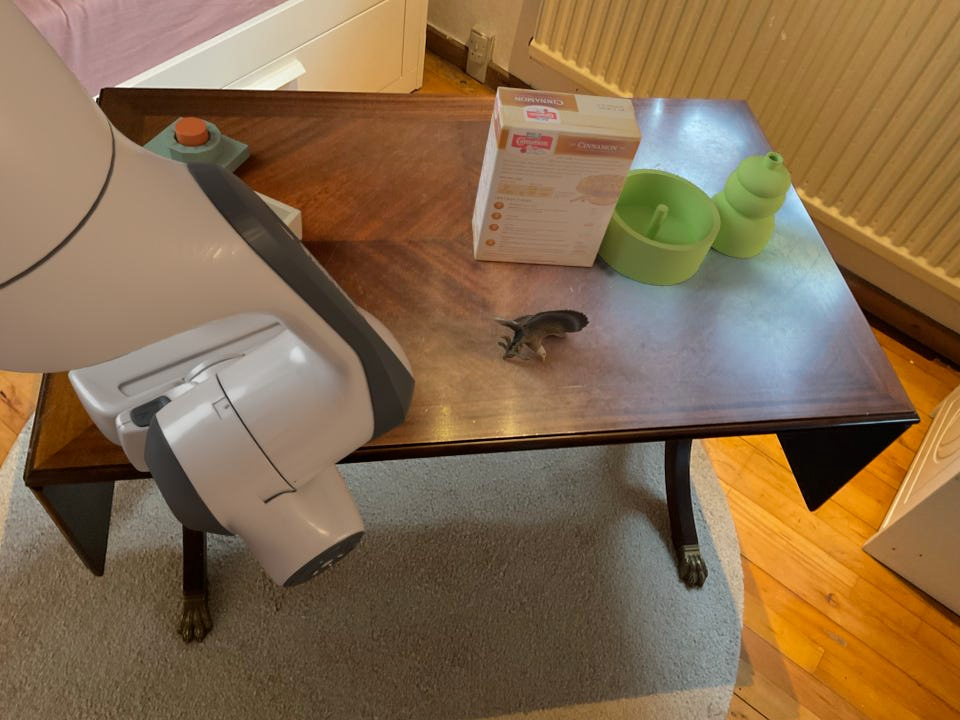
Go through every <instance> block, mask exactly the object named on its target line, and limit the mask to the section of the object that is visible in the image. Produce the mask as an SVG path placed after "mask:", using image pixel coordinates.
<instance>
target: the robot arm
mask: <svg viewBox="0 0 960 720" xmlns="http://www.w3.org/2000/svg"><path fill="white" fill-rule="evenodd" d="M254 191H255V190H254V189H252V187H251V186H249V185H248V184H247V183H246V182H245V181H243V180H242V179H241V178H239V176H237V175H236V174H234V172H233V173H231V172H230V171H228V170H227V169H225V168H224V167H222V166H220V165H219V164H217V163H215V162H187V164H186V163H182V162H178V161H175V160H172V159H169V158H166V157H163V156H161V155H158V154H156V153H153V152H151V151H149V150H147V149H145V148H143V146H142V145H139V144H137V143H136V142H135V141H133V140H131V139H130V138H128V137H127V136H125V134H123V133H122V132H121V131H120V130H119V129H118V128H117V127H115V125H114V124H113V123H112V122H111V120H110V119H109V118H108V116H107V115H106V114H105V112H104V111H103V110H102V108H101V107H100V106H99V104H98V103H97V102H96V100H95V99H94V98H93V96H92V95H91V94H90V92H89V91H88V90H87V88H86V87H85V85H84V84H83V83H82V81H81V80H80V79H79V78H78V76H77V75H76V73H75V72H74V71H73V70H72V68H71V67H70V66H69V65H68V64H67V62H66V61H65V60H64V59H63V57H62V56H61V55H60V54H59V53H58V51H57V50H56V49H55V47H54V46H53V45H52V44H51V43H50V42H49V41H48V39H47V38H46V37H45V36H44V34H43V33H42V32H41V31H40V30H39V29H38V27H37V26H36V25H35V24H34V23H33V22H32V21H31V20H30V18H29V17H28V16H26V14H25V13H24V12H23V11H22V10H21V9H20V7H19V6H18V5H17V4H16V2H14V1H13V0H0V371H4V372H11V373H19V374H53V373H54V374H55V373H62V372H68V374H67V377H68V380H69V382H70V384H71V386H72V388H73V390H74V392H75V394H76V396H77V397H78V400H79V402H80V403H81V405H82V407H83V408H84V410H85V411H86V413H87V415H88V416H89V418H90V419H91V421H92V422H93V423H94V425H95V426H96V427H97V428H98V430H99V432H101V433H102V435H103V436H104V437H105V438H106V439H107V440H108V441H110V442H111V443H113V444H114V445H116V446H119V447H121V448H122V450H123V452H124V454H125V455H126V458H127V459H128V460H129V462H130V464H132V467H134V469H136V470H137V471H139V472H140V473H141V472H142V473H143V472H144V473H147V472H150V474H151V477H152V478H153V481H154V483H155V484H156V486H157V488H158V490H159V492H160V494H161V496H162V498H163V500H164V502H165V503H166V505H167V506H168V508H169V511H170V512H171V513H172V515H173V516H174V518H175V519H176V520H177V521H178V522H179V523H180V524H181V525H183V526H184V527H185V528H186V529H189V530H191V531H198V532H201V533H202V532H203V533H208V534H212V535H219V536H226V537H235V536H236V535H237V536H239V538H241V539H242V541H243V542H244V543H245V545H246V547H247V549H249V551H250V552H251V554H252V555H253V557H254V558H255V559H256V560H257V562H258V564H259V565H260V566H261V567H262V569H263V570H264V571H265V572H266V574H267V575H268V576H269V577H270V578H271V580H272V581H273V582H274V583H275V584H276V585H277V586H279V587H280V588H290V587H292V588H293V587H297V586H300V585H303V584H306V583H307V582H309V581H311V580H313V579H315V578H316V577H318V576H320V575H321V574H323V573H325V572H326V571H327V570H329V569H330V568H331V567H333V566H334V565H336V564H337V563H338V562H340V561H342V560H343V559H344V558H346V557H347V556H348V555H349V554H350V552H351V553H352V551H353V550H354V549H355V548H356V547H357V546H358V544H359V543H360V542H361V540H362V538H363V536H364V535H365V531H366V527H365V524H364V521H363V519H362V516H361V513H360V511H359V509H358V507H357V504H356V502H355V500H354V498H353V496H352V493H351V491H350V489H349V487H348V485H347V483H346V482H345V480H344V478H343V476H342V474H341V472H340V470H339V468H338V467H337V465H336V464H337V463H338V462H340V461H341V460H342V459H343V460H344V458H346V457H347V456H349V455H350V454H351V453H354V451H356V450H357V449H359V448H361V447H362V446H363V445H365V444H369V443H372V442H374V441H375V440H376V439H378V438H381V437H382V436H384V435H386V434H388V433H389V432H391V431H392V430H394V429H396V428H398V427H399V426H402V425H403V424H404V423H405V421H406V420H407V417H408V413H409V411H410V407H411V404H412V400H413V397H414V393H415V387H416V380H415V378H414V375H413V370H412V366H411V363H410V360H409V359H408V357H407V354H406V352H405V351H404V349H403V347H402V346H401V344H400V343H399V341H398V340H397V338H396V337H395V336H394V335H393V333H392V332H391V331H390V330H389V329H388V327H387V326H385V324H384V323H383V322H382V321H380V320H379V319H378V318H377V317H375V316H374V315H373V314H371V313H370V312H369V311H367V310H366V309H364V308H362V307H360V306H359V304H358V302H356V301H355V300H354V299H353V298H352V297H351V296H350V294H349V293H348V292H347V291H346V290H345V289H344V288H343V287H342V286H341V285H340V284H339V283H338V281H337V280H336V279H335V277H333V276H332V275H331V273H330V272H329V271H328V270H327V269H326V268H325V267H324V265H322V263H321V262H320V261H319V260H318V259H317V257H316V256H314V254H313V253H312V252H311V251H310V250H309V249H308V247H307V246H306V245H305V244H304V243H303V242H302V240H299V239H298V237H297V236H296V235H295V234H294V233H293V232H292V231H291V230H290V229H289V227H288V226H287V225H286V224H285V223H284V222H283V221H282V220H281V219H280V218H279V217H278V216H277V214H276V213H275V212H274V211H273V210H272V209H271V208H270V207H269V206H268V205H267V204H266V203H265V202H264V201H263V200H262V199H261V198H260V197H259V196H258V195H257V194H256V193H255V192H254Z"/></svg>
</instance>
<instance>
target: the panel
mask: <svg viewBox="0 0 960 720" xmlns="http://www.w3.org/2000/svg"><path fill="white" fill-rule="evenodd" d="M183 118H184V117H182V116H180V117H178V118H177V119H176V120H174V121H173V122H172V123H171V124H170V125H168V126H167V127H166V128H164V129H163V130H162V131H161V132H159V133H158V134H157V135H155V136H154V137H153V138H152V139H150V140H149V141H148V142H147V143H145V144H144V145H143V146H142V147H143V148H145V149H147V150H149V151H151V152H153V153H156V154H158V155H161V156H163V157H166V158H169V159H172V160H175V161H178V162H182V163H186V164H187V162H215V163H217V164H219V165H220V166H222V167H224V168H225V169H227V170H228V171H230V172H231V173H233V174H234V172H235V171H236V170H237V169H238V168H239V167H240V166H241V165H242V164H244V163H245V162H246V161H247V160H248V159H249V158H250V157H251V154H250V153H251V152H250V145H248V144H246V143H243V142H241V141H239V140H236V139H234V138H231V137H230V136H227V135H224V134H222V132H221V131H220V129H219V128H218V127H217V125H216V124H214V123H212V122H210V121H207V120H205V119H201V118H200V119H201V120H203V121H204V122H205V123H206V125H207V131H208V137H209V138H208V141H207V143H206V144H204V145H201V146H197V147H188V146H183V145H181V144H180V143H179V142H178V140H177V136H176V131H175V124H176V123H177V122H178V121H179V120H181V119H183Z"/></svg>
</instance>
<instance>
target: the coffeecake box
mask: <svg viewBox="0 0 960 720" xmlns="http://www.w3.org/2000/svg"><path fill="white" fill-rule="evenodd" d="M635 112H636V110H635V108H634V105H633V101H632V99H631V98H622V97H614V96H613V97H610V96H602V95H601V96H600V95H589V94H580V93H570V92H569V93H568V92H558V91H546V90H538V89H526V88H515V87H506V86H498V87H497V90H496V93H495V98H494V104H493V109H492V114H491V119H490V125H489V130H488V135H487V140H486V145H485V151H484V156H483V159H482V160H483V162H482V167H481V171H480V172H481V173H480V176H479V182H478V187H477V193H476V198H475V204H474V208H473V215H472V220H471V227H472V240H473V241H472V242H473V243H472V244H473V257H474V261H489V262H503V263H504V262H505V263H521V264H537V265H553V266H567V267H585V268H592V267H593V265H594V262H595V260H596V257H597V256H598V254H599V253H598V250H599V247H600V245H601V242H602V240H603V237H604V234H605V232H606V229H607V226H608V224H609V221H610V219H611V216H612V214H613V211H614V209H615V206H616V204H617V201H618V198H619V196H620V193H621V191H622V188H623V185H624V183H625V180H626V177H627V175H628V172H629V171H630V170H631V167H632V164H633V162H634V159H635V156H636V154H637V152H638V149H639V146H640V144H641V141H642V139H643V136H642V133H641V129H640V126H639V123H638V121H637V118H636V114H635Z"/></svg>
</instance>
